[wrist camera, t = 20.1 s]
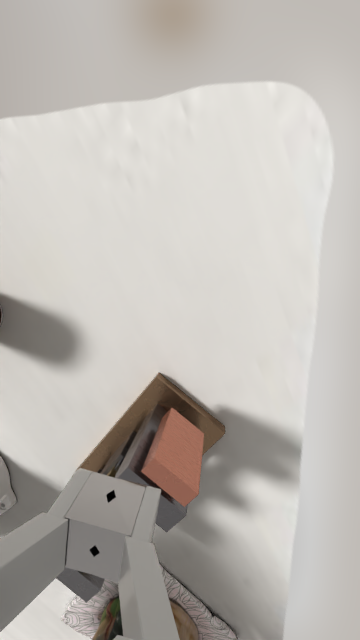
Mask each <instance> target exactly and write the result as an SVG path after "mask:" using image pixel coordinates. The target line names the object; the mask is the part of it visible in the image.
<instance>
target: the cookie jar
mask: <svg viewBox="0 0 360 640" xmlns="http://www.w3.org/2000/svg"><path fill="white" fill-rule="evenodd" d="M160 568H161V572H162V576H163V579H164V583H165V587H166V590H167V594H168V598H169V602H170V605H171V609H172V613H173V616H174V620H175V624H176V627H177V631H178V635H179V639H180V640H238V638H237V637H236V636H235V634H234V633H233V631H232V630H231V629H230V628H229V627H228V626H227V624H226V623H225V622H223V621H222V620H220V619H219V618H217V617H216V616H214V615H213V614H211V612H210V611H209V610H208V609H207V608H206V606H205V605H204V604H203V603H202V602H201V601H199V600H198V599H197V598H196V597H195V596H194V595H193V594H192V593H190V592H189V591H188V590H187V589H186V588H185V587H184V586H183V585H182V584H180V583H179V582H178V581H177V580H176V579H175V578H174V577H172V576H171V575H170V574H169V573H168V572H167V571H166V570H165V569H164V568H163V567H162V566H161V565H160ZM61 621H63V622H64V623H65V624H67V625H69V626H70V627H71V628H73V629H74V630H75V631H77V632H79V633H82V634H83V635H86V636H90V638H91V640H113V639H114V638H115V637H116V636H117V635H120V636H123V629H122V618H121V608H120V598H119V588H118V583H115V582H113V581H110V580H107V579H105V580H104V583H103V585H102V588H101V590H100V591H99V592H98V593H97V594H96V595H95V596H94V597H92V598H91V599H90V600H89V601H88V602H87V603H86V602H85V601H84V600H82V599H81V598H80V597H79V596H78V597H77V598H76V599H74V600H72V601H71V603H70V604H69V605H68V606H67V608H66V609H65V611H64V613H63V615H62V617H61Z"/></svg>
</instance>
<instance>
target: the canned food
mask: <svg viewBox="0 0 360 640" xmlns="http://www.w3.org/2000/svg"><path fill="white" fill-rule="evenodd" d="M2 319H3V312H2V307H1V305H0V326H1V323H2Z"/></svg>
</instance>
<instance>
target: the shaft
mask: <svg viewBox="0 0 360 640" xmlns="http://www.w3.org/2000/svg"><path fill="white" fill-rule="evenodd" d="M203 440H204V433H203V432H201V431H200V430H199V429H198V428H197V427H195V426H194V425H193V424H192V423H190V422H189V421H188V420H187V419H186V418H184V417H183V416H182V415H181V414H179V413H178V412H177V411H176V410H175V409H173V408H171V409H170V410H169V411H168V412H167V413H166V414H165V415H164V416H163V418H162V419H161V422H160V424H159V427H158V430H157V432H156V435H155V437H154V440H153V442H152V445H151V447H150V450H149V452H148V455H147V458H146V460H145V463H144V465H143V468H142V470H141V472H142V473H144V474H145V475H146V476H147V477H148V478H150V479H151V480H152V481H153V482H154V483H156V484H157V485H158V486H159V487H161V488H162V489H163V490H164V491H165V492H167V493H168V494H169V495H170V496H172V497H173V498H174V499H175V500H176V501H178V502H179V503H180V504H181V505H183V506H184V507H185V506H186V505H187V504H188V503H189V502H190V501H192V500H193V499H194V498H195V497H196V496H197V495H198V494H199V483H200V473H201V462H202V451H203Z"/></svg>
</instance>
